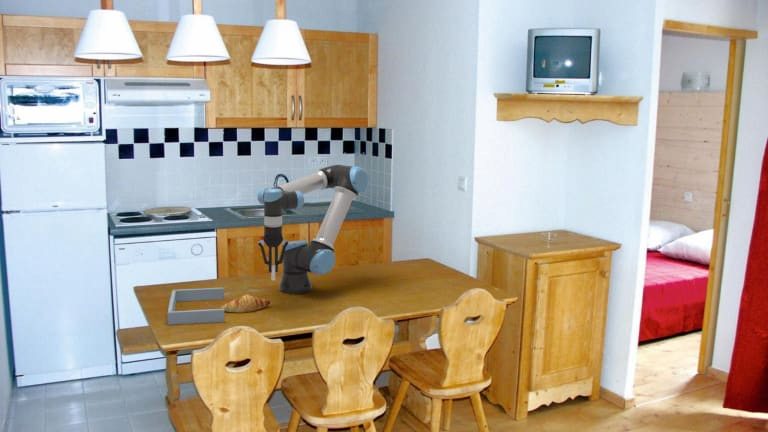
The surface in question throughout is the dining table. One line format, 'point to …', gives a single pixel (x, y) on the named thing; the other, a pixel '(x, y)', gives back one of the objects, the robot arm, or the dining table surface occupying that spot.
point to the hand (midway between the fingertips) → (273, 279)
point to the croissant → (245, 304)
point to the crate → (195, 315)
